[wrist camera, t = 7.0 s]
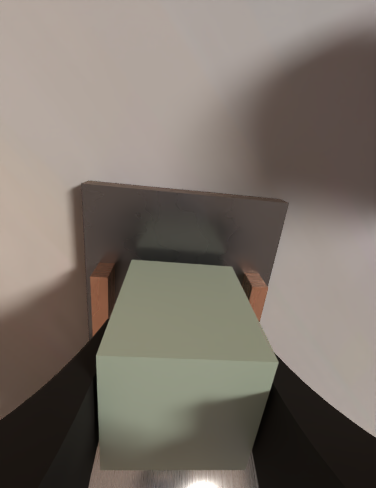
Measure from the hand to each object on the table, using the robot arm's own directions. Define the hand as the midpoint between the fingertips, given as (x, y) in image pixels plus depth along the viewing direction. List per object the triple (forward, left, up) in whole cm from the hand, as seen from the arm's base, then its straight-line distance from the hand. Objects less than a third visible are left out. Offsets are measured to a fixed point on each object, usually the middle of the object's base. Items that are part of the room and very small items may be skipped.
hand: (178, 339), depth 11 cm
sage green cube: (0, 0, -2) cm, 2 cm away
